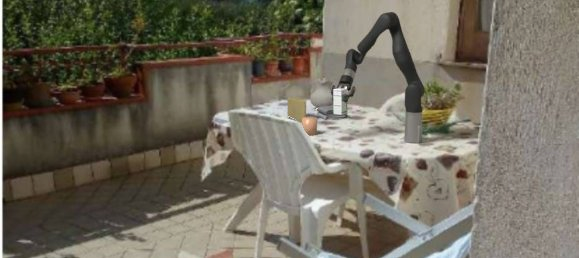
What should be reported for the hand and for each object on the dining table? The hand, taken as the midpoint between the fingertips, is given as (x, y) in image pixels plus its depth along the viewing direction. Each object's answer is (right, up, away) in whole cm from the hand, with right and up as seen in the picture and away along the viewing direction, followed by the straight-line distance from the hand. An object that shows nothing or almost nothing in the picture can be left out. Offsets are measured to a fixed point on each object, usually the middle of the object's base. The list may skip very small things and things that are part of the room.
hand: (339, 101), depth 327 cm
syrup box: (+1, -7, +3) cm, 8 cm away
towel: (+2, -8, +73) cm, 73 cm away
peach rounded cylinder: (-16, -19, +19) cm, 31 cm away
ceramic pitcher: (-3, -1, +105) cm, 105 cm away
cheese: (-22, -10, +61) cm, 66 cm away
